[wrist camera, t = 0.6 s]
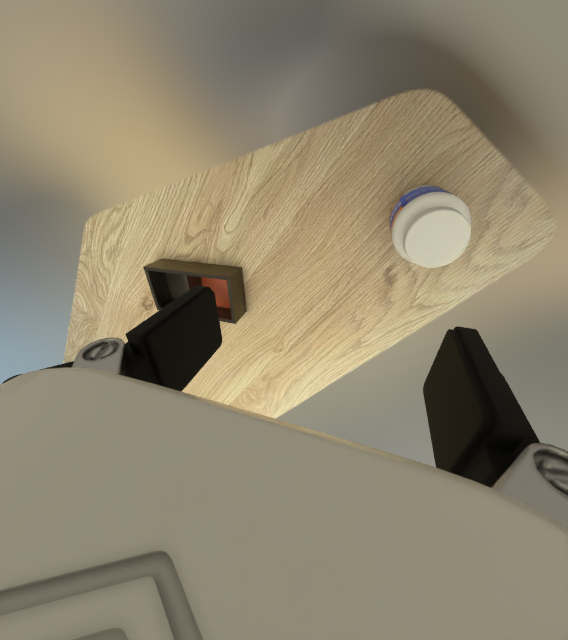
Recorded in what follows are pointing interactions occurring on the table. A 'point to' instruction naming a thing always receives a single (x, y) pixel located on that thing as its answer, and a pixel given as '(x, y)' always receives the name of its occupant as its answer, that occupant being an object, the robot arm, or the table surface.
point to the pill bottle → (430, 226)
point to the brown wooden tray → (182, 276)
